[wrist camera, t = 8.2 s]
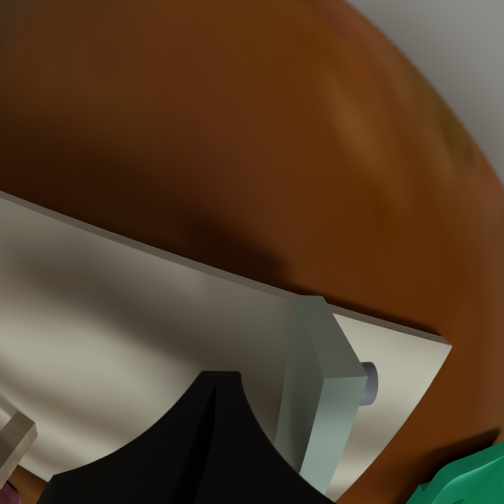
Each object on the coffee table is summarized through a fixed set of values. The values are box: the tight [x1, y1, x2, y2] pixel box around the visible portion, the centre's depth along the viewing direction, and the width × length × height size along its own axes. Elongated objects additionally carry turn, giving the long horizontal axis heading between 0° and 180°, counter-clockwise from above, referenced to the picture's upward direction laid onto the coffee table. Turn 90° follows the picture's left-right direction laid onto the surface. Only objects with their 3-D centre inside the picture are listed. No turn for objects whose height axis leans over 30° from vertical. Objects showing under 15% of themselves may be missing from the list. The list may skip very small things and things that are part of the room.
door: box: [274, 295, 378, 495], centre depth 10 cm, size 2×16×5 cm, turn 177°
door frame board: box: [0, 191, 452, 502], centre depth 11 cm, size 22×24×6 cm
